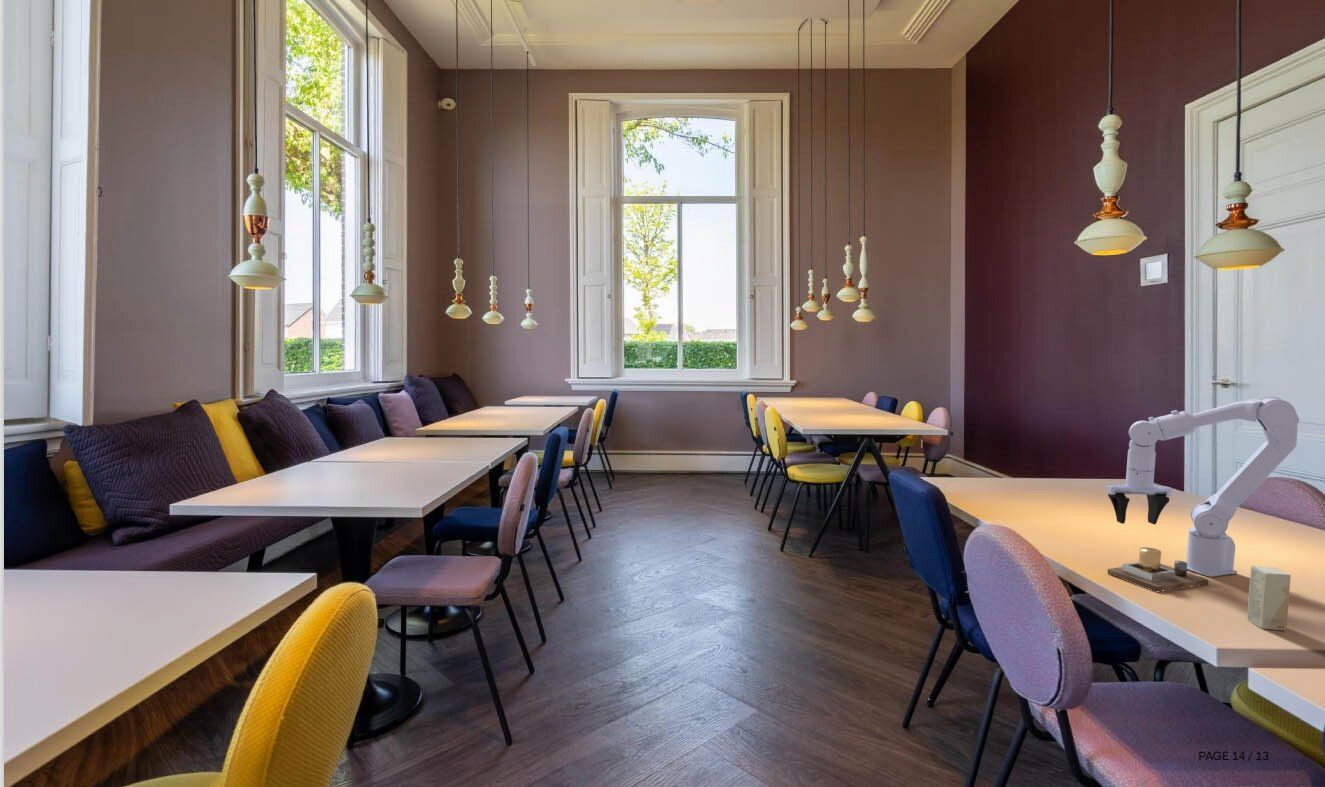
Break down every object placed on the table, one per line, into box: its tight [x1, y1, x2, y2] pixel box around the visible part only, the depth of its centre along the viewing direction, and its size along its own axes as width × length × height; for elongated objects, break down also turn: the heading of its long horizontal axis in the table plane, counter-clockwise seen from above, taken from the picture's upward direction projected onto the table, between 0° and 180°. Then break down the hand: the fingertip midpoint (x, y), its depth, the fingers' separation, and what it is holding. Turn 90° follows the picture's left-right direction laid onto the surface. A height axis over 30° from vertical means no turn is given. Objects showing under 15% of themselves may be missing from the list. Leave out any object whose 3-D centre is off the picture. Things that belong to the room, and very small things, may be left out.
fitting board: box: [1107, 560, 1209, 592], centre depth 164 cm, size 16×12×4 cm
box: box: [1246, 565, 1292, 631], centre depth 138 cm, size 5×4×11 cm
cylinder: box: [1138, 546, 1162, 573], centre depth 162 cm, size 4×4×6 cm
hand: (1136, 522), depth 177 cm, fingers open, 7 cm apart
